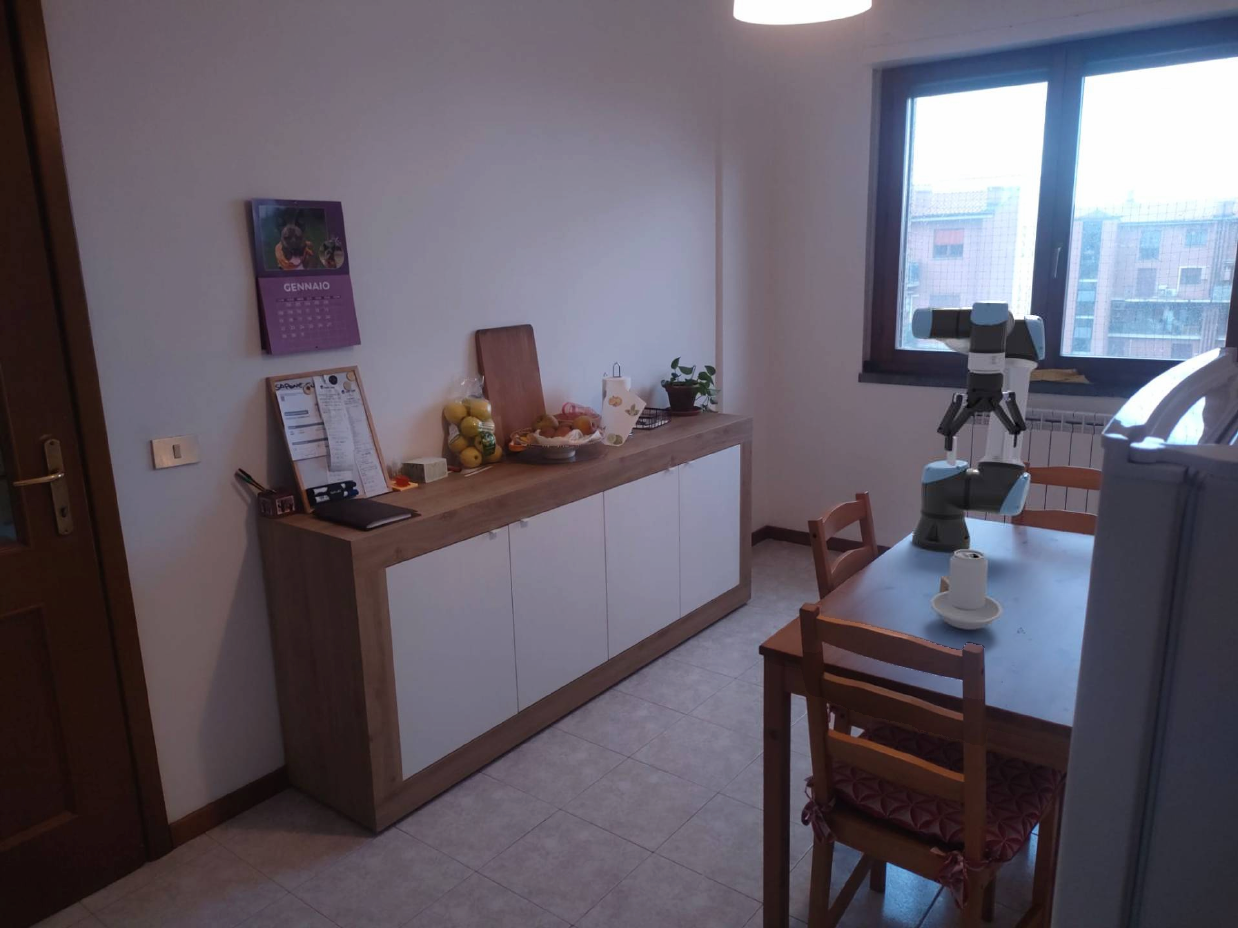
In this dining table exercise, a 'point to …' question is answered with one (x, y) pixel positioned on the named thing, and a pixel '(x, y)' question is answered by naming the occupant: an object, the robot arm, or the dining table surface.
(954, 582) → the can
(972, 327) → the robot arm
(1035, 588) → the dining table surface
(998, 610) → the dish
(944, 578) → the walnut block
